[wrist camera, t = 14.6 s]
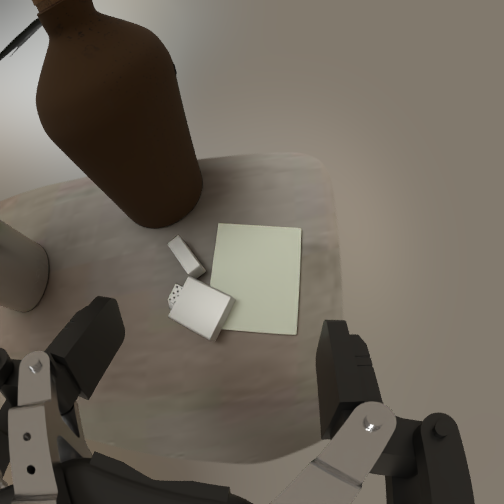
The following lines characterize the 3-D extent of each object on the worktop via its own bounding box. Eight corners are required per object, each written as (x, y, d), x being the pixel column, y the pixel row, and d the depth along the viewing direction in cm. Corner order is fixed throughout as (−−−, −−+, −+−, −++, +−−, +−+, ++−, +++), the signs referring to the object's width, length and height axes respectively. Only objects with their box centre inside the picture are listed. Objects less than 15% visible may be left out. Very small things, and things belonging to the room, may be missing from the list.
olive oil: (166, 253, 27) (-8, 30, 4) (104, 206, 30) (-28, 45, 6) (228, 175, 30) (179, -65, 7) (161, 142, 32) (88, -36, 9)
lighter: (209, 340, 22) (137, 298, 24) (215, 341, 24) (146, 302, 26) (247, 264, 24) (172, 231, 26) (250, 269, 25) (179, 238, 28)
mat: (206, 327, 25) (205, 326, 24) (219, 225, 28) (218, 223, 28) (295, 335, 24) (296, 334, 24) (300, 230, 27) (301, 228, 27)
